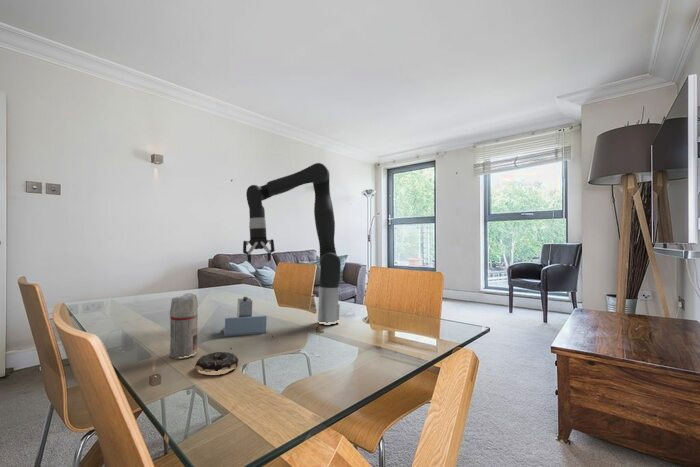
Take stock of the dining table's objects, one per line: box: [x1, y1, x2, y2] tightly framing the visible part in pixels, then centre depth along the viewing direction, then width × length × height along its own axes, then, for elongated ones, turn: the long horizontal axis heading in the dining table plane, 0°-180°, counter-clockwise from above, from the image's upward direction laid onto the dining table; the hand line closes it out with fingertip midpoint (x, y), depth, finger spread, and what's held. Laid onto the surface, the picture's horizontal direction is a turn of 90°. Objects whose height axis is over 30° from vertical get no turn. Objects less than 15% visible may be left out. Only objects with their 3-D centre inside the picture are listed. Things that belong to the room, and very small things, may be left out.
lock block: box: [236, 296, 253, 317], centre depth 139 cm, size 5×7×13 cm
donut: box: [194, 351, 239, 372], centre depth 98 cm, size 11×12×4 cm
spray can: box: [169, 292, 199, 360], centre depth 108 cm, size 8×8×20 cm
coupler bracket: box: [222, 315, 268, 337], centre depth 138 cm, size 16×10×7 cm, turn 115°
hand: (259, 262), depth 157 cm, fingers open, 8 cm apart
